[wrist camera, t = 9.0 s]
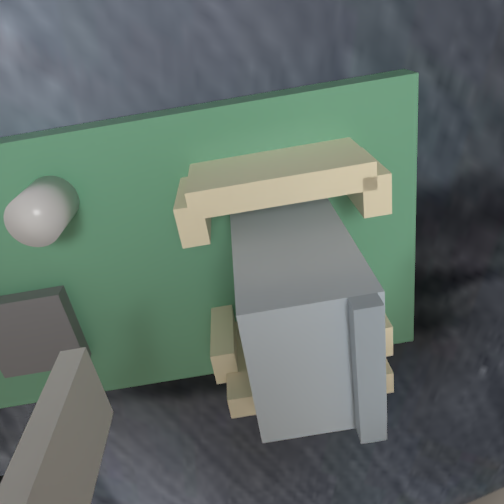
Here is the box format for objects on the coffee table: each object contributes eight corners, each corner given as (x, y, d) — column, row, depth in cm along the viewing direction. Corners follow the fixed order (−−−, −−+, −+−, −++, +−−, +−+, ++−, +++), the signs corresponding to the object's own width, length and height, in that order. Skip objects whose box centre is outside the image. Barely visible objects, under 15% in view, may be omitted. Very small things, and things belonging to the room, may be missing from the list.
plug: (229, 205, 19) (236, 329, 12) (322, 190, 19) (392, 304, 11) (247, 303, 21) (263, 459, 14) (331, 289, 21) (393, 438, 14)
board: (-169, 166, 19) (-340, 231, 13) (403, 68, 19) (488, 91, 13) (-31, 394, 25) (-107, 508, 19) (402, 323, 25) (459, 416, 19)
